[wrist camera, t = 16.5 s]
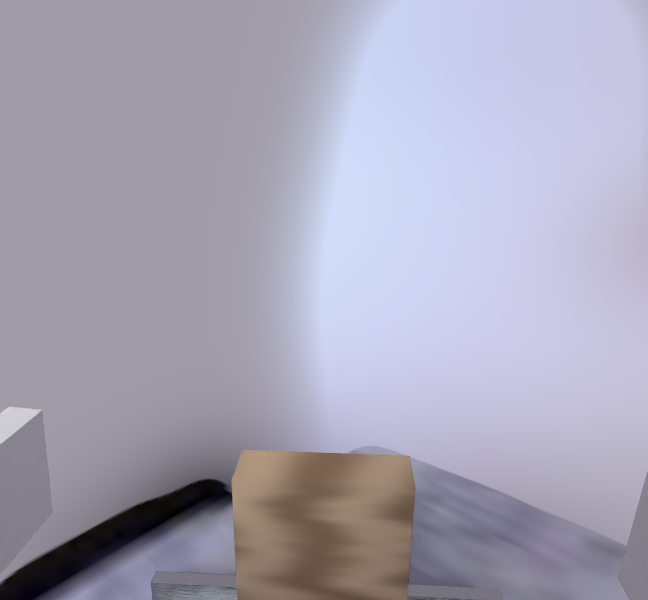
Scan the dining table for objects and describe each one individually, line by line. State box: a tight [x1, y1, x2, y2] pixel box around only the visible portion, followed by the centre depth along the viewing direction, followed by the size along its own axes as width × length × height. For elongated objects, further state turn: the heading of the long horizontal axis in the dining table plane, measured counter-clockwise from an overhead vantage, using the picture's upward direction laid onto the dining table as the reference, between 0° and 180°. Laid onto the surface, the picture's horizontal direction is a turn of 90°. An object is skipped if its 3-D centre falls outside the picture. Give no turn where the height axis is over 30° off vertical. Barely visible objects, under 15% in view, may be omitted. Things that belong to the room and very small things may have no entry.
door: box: [232, 450, 415, 600], centre depth 33 cm, size 10×3×14 cm, turn 87°
